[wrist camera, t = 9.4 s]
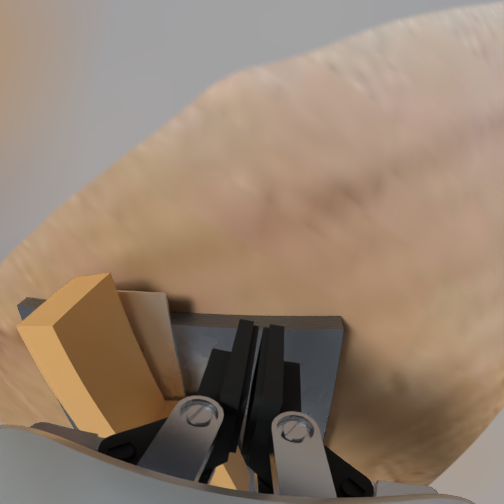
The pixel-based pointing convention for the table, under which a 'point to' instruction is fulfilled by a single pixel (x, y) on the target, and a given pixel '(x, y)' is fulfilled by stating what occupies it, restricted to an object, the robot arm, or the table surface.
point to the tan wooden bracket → (103, 366)
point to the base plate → (225, 349)
